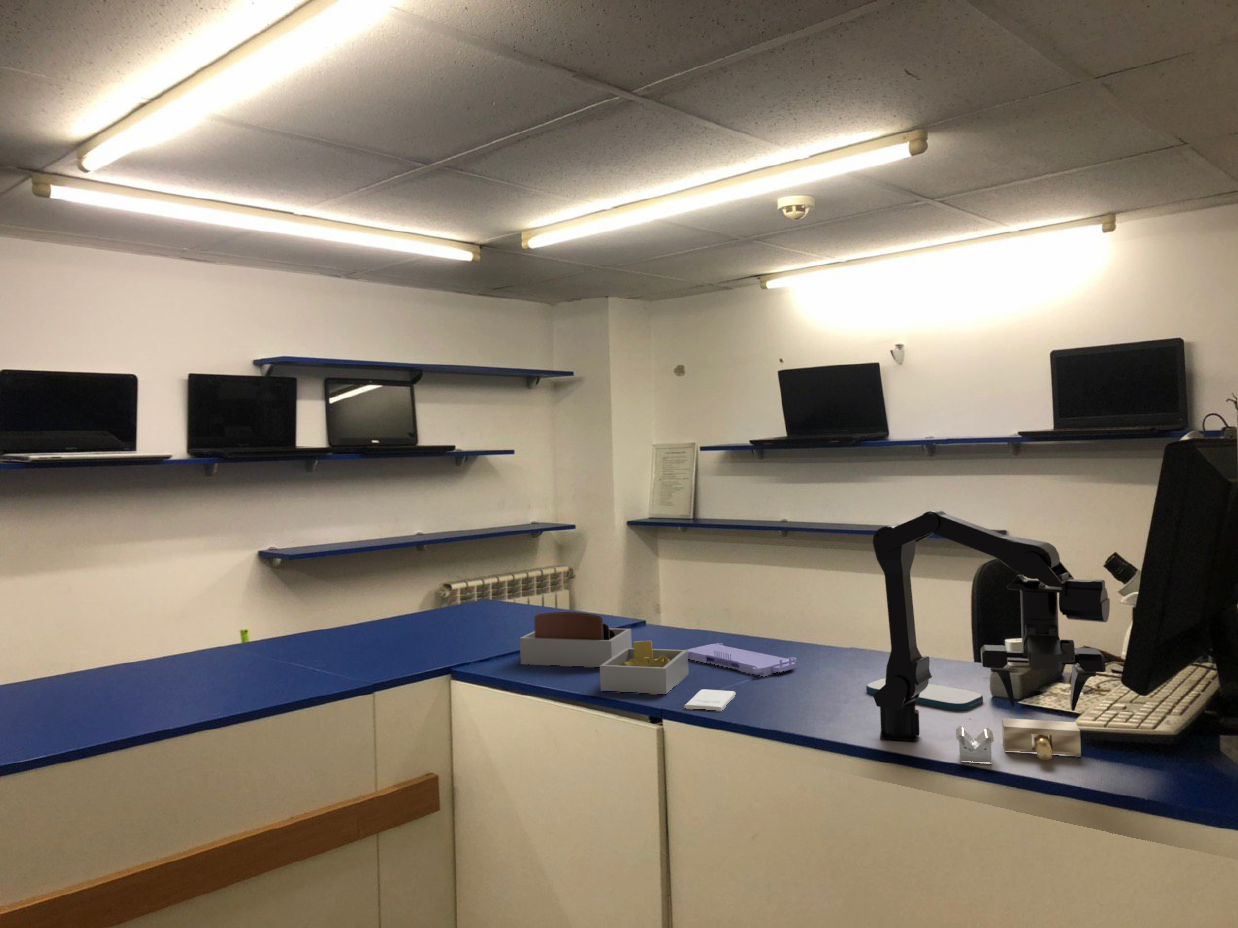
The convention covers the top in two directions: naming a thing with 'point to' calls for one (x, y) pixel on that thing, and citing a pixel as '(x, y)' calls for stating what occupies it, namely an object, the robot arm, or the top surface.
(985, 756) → the v block
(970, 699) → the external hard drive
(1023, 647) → the robot arm
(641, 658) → the ball valve
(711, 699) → the external hard drive
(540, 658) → the holder tray
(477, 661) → the top surface
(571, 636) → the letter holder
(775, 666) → the computer part
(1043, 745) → the axle
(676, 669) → the tray
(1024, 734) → the beam
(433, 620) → the top surface
